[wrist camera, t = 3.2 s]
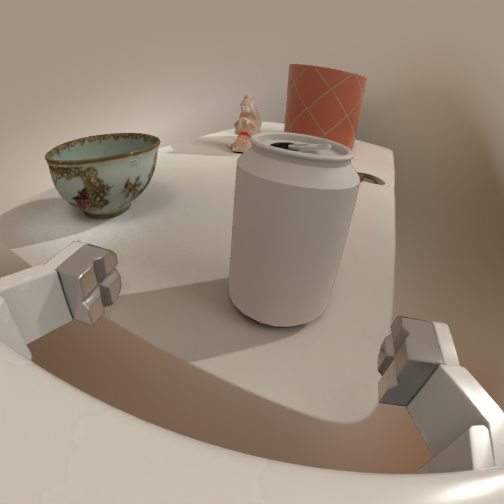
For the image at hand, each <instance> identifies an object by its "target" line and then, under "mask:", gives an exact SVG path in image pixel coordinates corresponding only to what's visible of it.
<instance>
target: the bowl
mask: <svg viewBox="0 0 504 504" xmlns="http://www.w3.org/2000/svg"><path fill="white" fill-rule="evenodd" d="M159 144H160V140H159V138H157V137H155V136H151V135H148V134H141V133H116V134H105V135H96V136H90V137H85V138H80V139H76V140H73V141H69V142H66V143H64V144H61V145H59V146H56V147H55V148H53V149H52V150H50V151H49V152H48V153H47V154H46V155H45V159H46V160H47V163H48V165H49V169H50V173H51V177H52V180H53V183H54V185H55V187H56V189H57V191H58V192H59V194H60V195H61V196H62V197H63V198H64V199H65V200H66V201H67V202H68V203H70V204H71V205H73V206H75V207H77V208H80V209H83V212H84V214H85V215H86V216H88V217H91V218H110V217H114V216H117V215H120V214H122V213H123V212H125V211H126V210H128V209H129V207H130V204H131V201H133V200H134V199H136V198H137V197H138V196H139V195H140V194H141V193H142V192H143V191H144V189H145V188H146V187H147V185H148V184H149V182H150V180H151V178H152V175H153V173H154V170H155V165H156V159H157V152H158V146H159Z"/></svg>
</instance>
